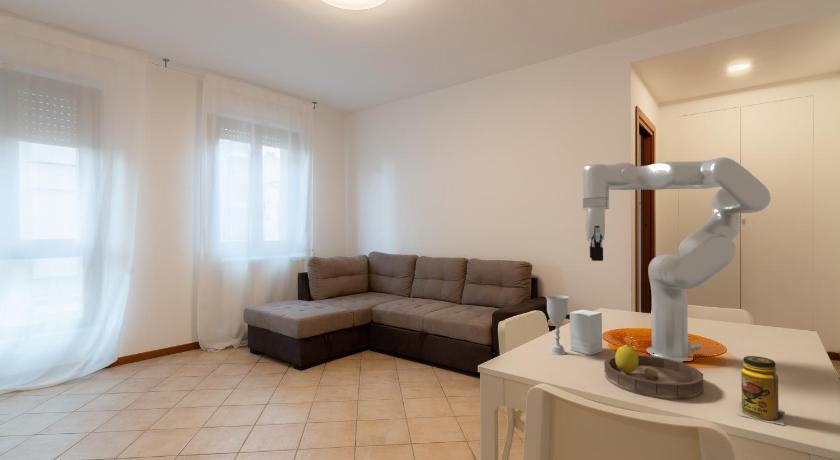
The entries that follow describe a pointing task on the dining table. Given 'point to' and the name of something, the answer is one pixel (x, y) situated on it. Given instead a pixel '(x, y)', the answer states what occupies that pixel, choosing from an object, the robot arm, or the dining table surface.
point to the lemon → (626, 359)
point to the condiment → (760, 390)
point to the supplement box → (586, 331)
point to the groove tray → (662, 378)
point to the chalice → (557, 318)
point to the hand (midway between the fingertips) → (596, 259)
